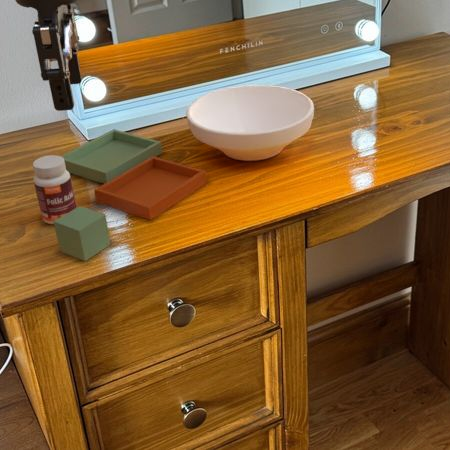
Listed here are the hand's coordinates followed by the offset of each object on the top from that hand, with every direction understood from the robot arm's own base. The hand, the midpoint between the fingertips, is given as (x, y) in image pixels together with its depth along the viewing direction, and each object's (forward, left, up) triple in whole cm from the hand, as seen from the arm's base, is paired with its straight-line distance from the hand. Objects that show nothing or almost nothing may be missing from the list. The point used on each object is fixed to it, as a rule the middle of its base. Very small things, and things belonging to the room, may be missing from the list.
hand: (69, 95), depth 93 cm
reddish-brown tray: (+11, -1, -18) cm, 21 cm away
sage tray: (+15, +12, -18) cm, 27 cm away
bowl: (+29, -5, -19) cm, 35 cm away
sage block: (-5, -3, -18) cm, 19 cm away
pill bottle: (-1, +6, -19) cm, 20 cm away
